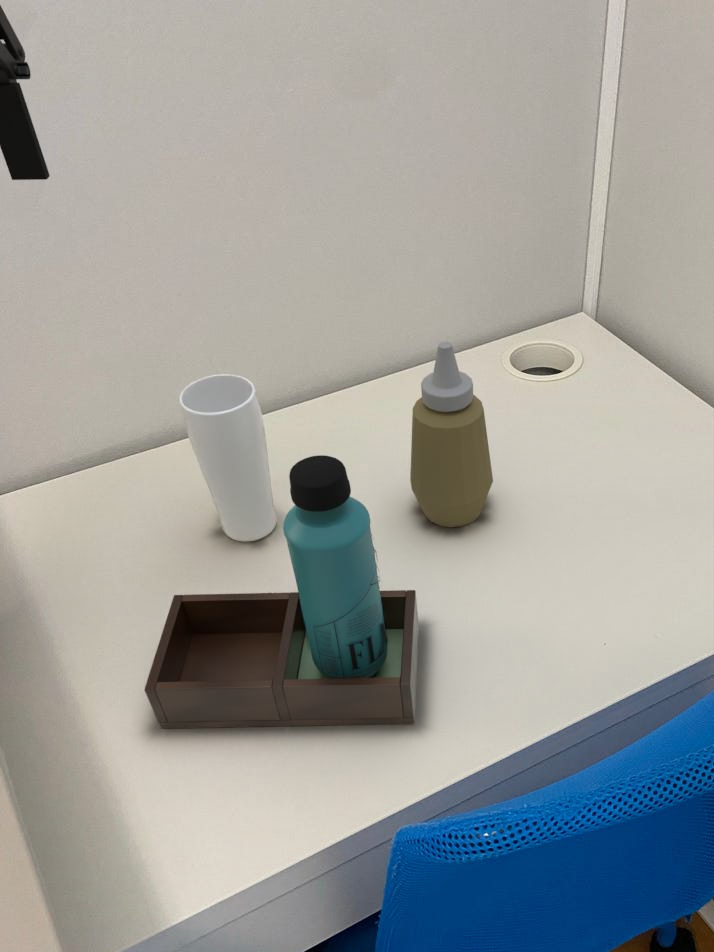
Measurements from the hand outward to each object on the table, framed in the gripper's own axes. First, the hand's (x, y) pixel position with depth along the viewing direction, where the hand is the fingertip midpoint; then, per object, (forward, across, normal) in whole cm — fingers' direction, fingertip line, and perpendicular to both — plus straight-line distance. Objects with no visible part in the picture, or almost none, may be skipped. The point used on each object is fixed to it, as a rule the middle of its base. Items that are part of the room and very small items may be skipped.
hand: (0, 214), depth 68 cm
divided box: (+31, -18, -19) cm, 41 cm away
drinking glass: (+32, +2, -12) cm, 34 cm away
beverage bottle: (+30, -18, -24) cm, 43 cm away
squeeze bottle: (+31, +4, -32) cm, 45 cm away
